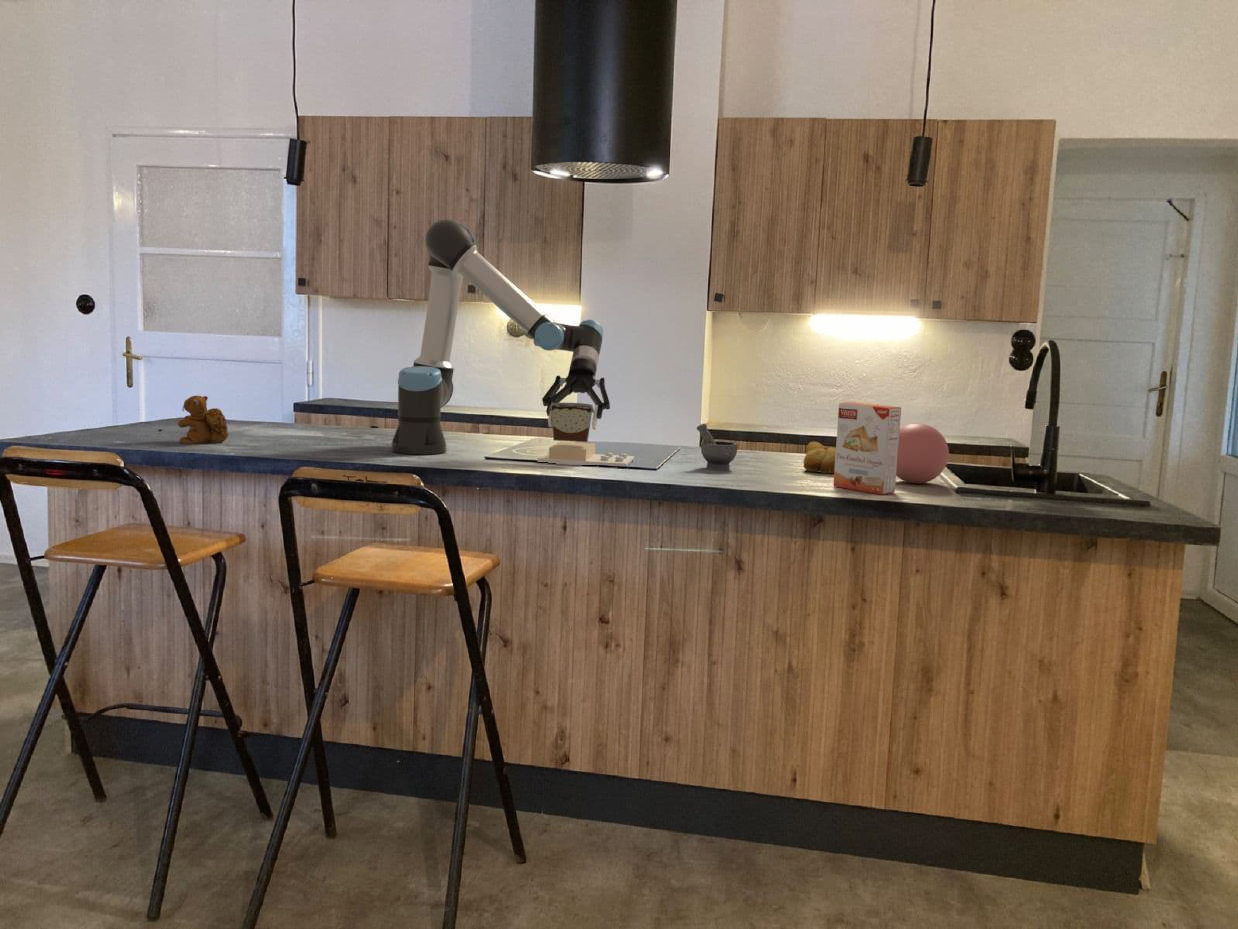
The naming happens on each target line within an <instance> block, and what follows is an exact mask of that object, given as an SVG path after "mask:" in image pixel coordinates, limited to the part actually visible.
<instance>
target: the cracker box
mask: <svg viewBox="0 0 1238 929" xmlns="http://www.w3.org/2000/svg"><path fill="white" fill-rule="evenodd" d="M837 416H838V417H837V429H836V443H835V444H836V445H835V448H836V455H835V469H834V473H833V484H832V485H833V487H836V488H841V489H848V490H854V491H859V492H865V493H871V494H875V495H881V496H882V495H883V496H884V495H887V494H889V495H890V494H895V491H896V481H897V476H896V471H897V458H898V445H899V432H900V428H901V416H902V407H901V406H893V405H884V404H883V405H881V404H875V403H867V402H866V403H864V402H854V401H843V402H839V403H838V415H837Z"/></svg>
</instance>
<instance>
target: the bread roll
mask: <svg viewBox="0 0 1238 929" xmlns="http://www.w3.org/2000/svg"><path fill="white" fill-rule="evenodd" d="M835 455H836V447H833V446H830V447H826V446H825V445H823V444H821V443H820V442H818V441H815V440H814V441H811V442H809V443H808V444H807V447H806V450H805V456H804V459H803V468H804V469H805V470H806V471H807V472H811V473H812V472H813V473H821V474H834V469H835Z"/></svg>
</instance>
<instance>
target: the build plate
mask: <svg viewBox="0 0 1238 929" xmlns="http://www.w3.org/2000/svg"><path fill="white" fill-rule="evenodd" d="M633 459H634V460H635V456H634V455H628V453H619V454H618V455H617V454H613V452H605V453H604V454H602V453H601V454H599V453H596V443H590V442H572V441H558V442H557V443H555V444H553V445H551V446H550V447H548V452H547V453H545V454H543V455H541V456H539V457H538V458H537V460H536V461H537V462H548V463H556V464H555V465H568V466H582V465H610V466H627V465H628V464H629V463H630V462H631V461H632V460H633ZM548 463H547V464H548Z"/></svg>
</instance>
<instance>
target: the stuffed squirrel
mask: <svg viewBox="0 0 1238 929" xmlns="http://www.w3.org/2000/svg"><path fill="white" fill-rule="evenodd" d="M208 399H209V396H207V395H204V396H202V395H191V396H190V397H189V398H187V399H185V400H184V403H183V406H182V409H181V410H182V412H185V411H186V412H187V413H189V414H188V415H185V416H184V418H182V419H180V420H179V421H178V422H177V425H178V427H179V428H182V429H183V428H187V427H189V429H188V430H187V432H186V436H183V437H180V438H179V440H178V441H179V443H180V444H187V445H188V444H189V445H190V444H193V445H194V444H195V445H196V444H208V443H209V444H219V443H223V442H225V441H226V440H227V439H228V437H229V436H230V434H229V432H228V430H229V429H228V426H227V419H226V416H225V415H224V413H223V411H222V410H221V409H220V408H210V409H208V408H207V406H208V405H207V404H208V402H207V401H208Z"/></svg>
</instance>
